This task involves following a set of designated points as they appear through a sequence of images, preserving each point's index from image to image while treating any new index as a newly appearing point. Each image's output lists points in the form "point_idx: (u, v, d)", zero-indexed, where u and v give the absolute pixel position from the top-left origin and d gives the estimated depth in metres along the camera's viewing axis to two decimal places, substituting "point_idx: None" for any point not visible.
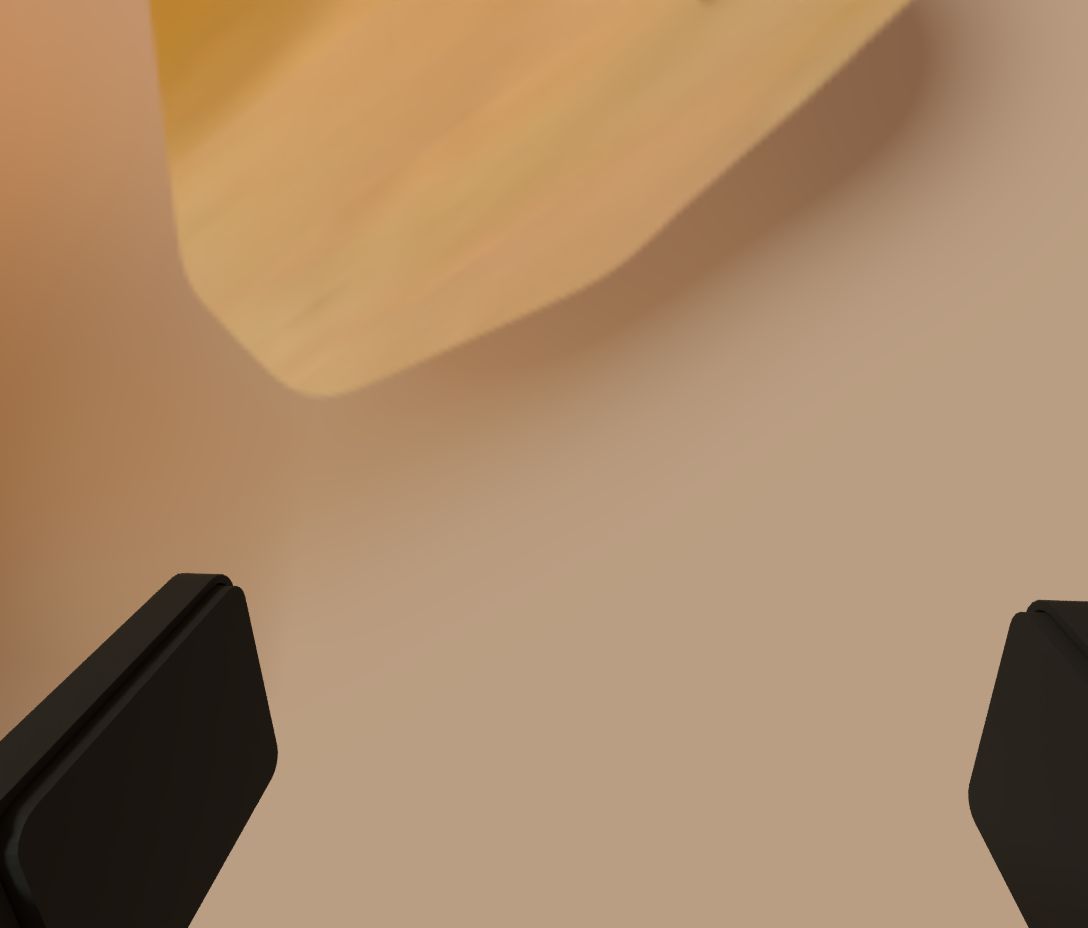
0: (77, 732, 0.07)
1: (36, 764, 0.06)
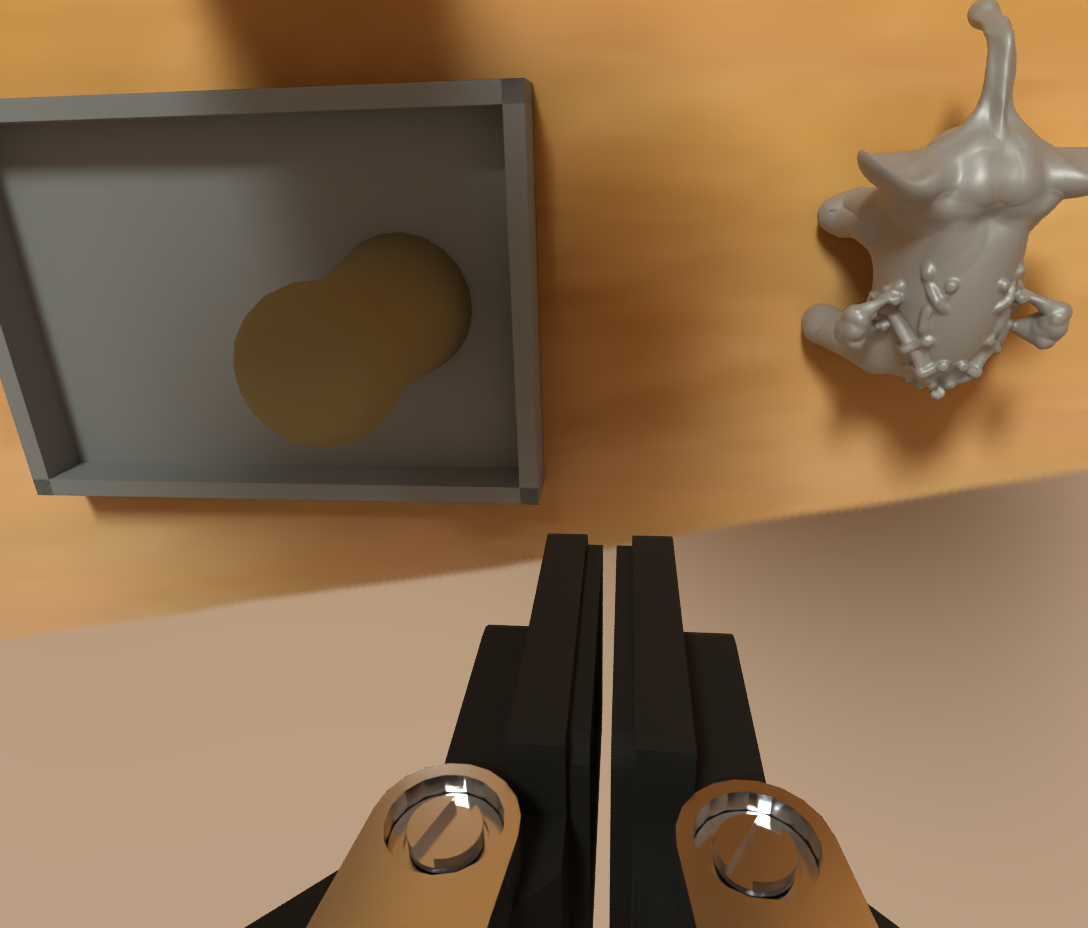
0: (577, 664, 0.07)
1: (571, 689, 0.07)
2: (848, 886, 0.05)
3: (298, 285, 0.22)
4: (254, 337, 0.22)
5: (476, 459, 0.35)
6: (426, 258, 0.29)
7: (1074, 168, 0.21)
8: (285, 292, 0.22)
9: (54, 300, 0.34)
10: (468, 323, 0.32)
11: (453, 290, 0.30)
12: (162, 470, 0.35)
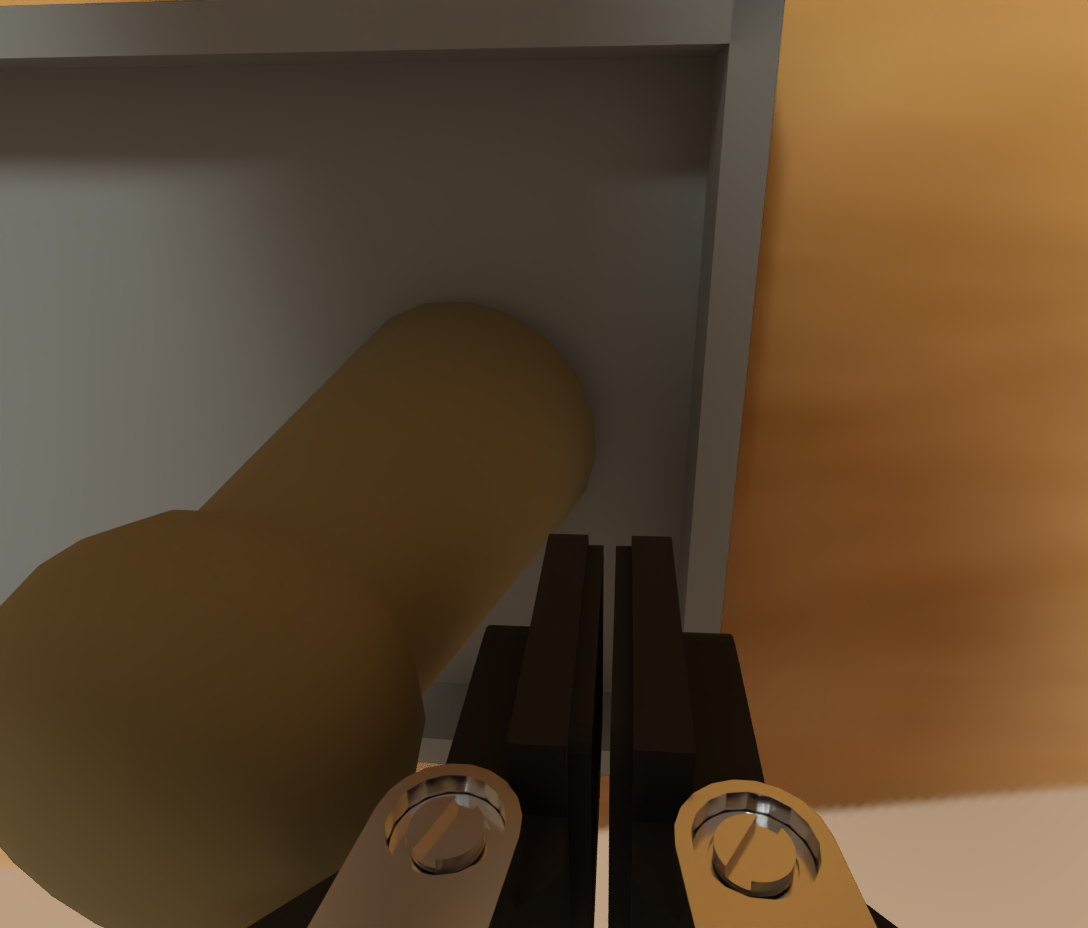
0: (579, 664, 0.07)
1: (572, 689, 0.07)
2: (847, 886, 0.05)
3: (115, 558, 0.08)
4: None
5: None
6: (511, 369, 0.14)
7: None
8: (66, 586, 0.07)
9: None
10: (586, 478, 0.17)
11: (562, 432, 0.15)
12: None
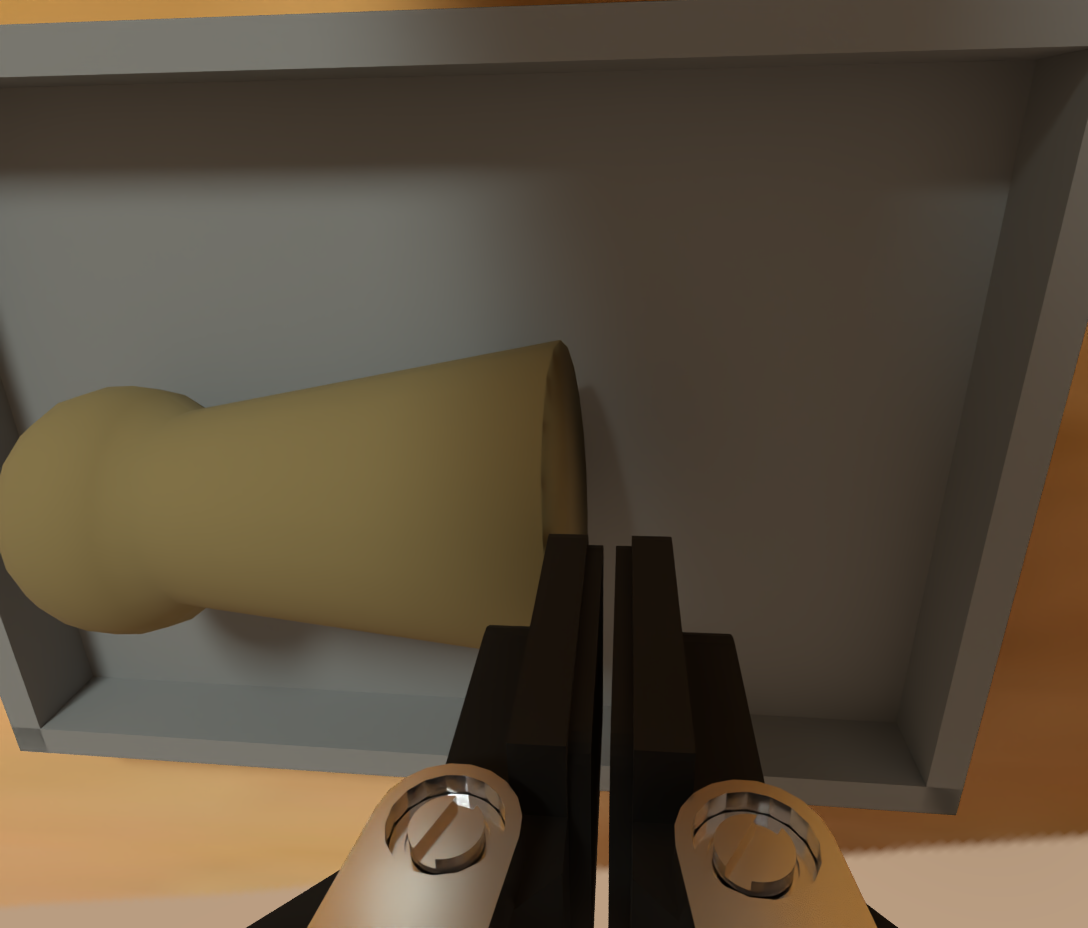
0: (578, 664, 0.07)
1: (571, 689, 0.07)
2: (847, 886, 0.05)
3: (90, 392, 0.15)
4: None
5: (806, 704, 0.19)
6: (435, 425, 0.12)
7: None
8: None
9: None
10: None
11: (444, 521, 0.12)
12: (240, 707, 0.20)
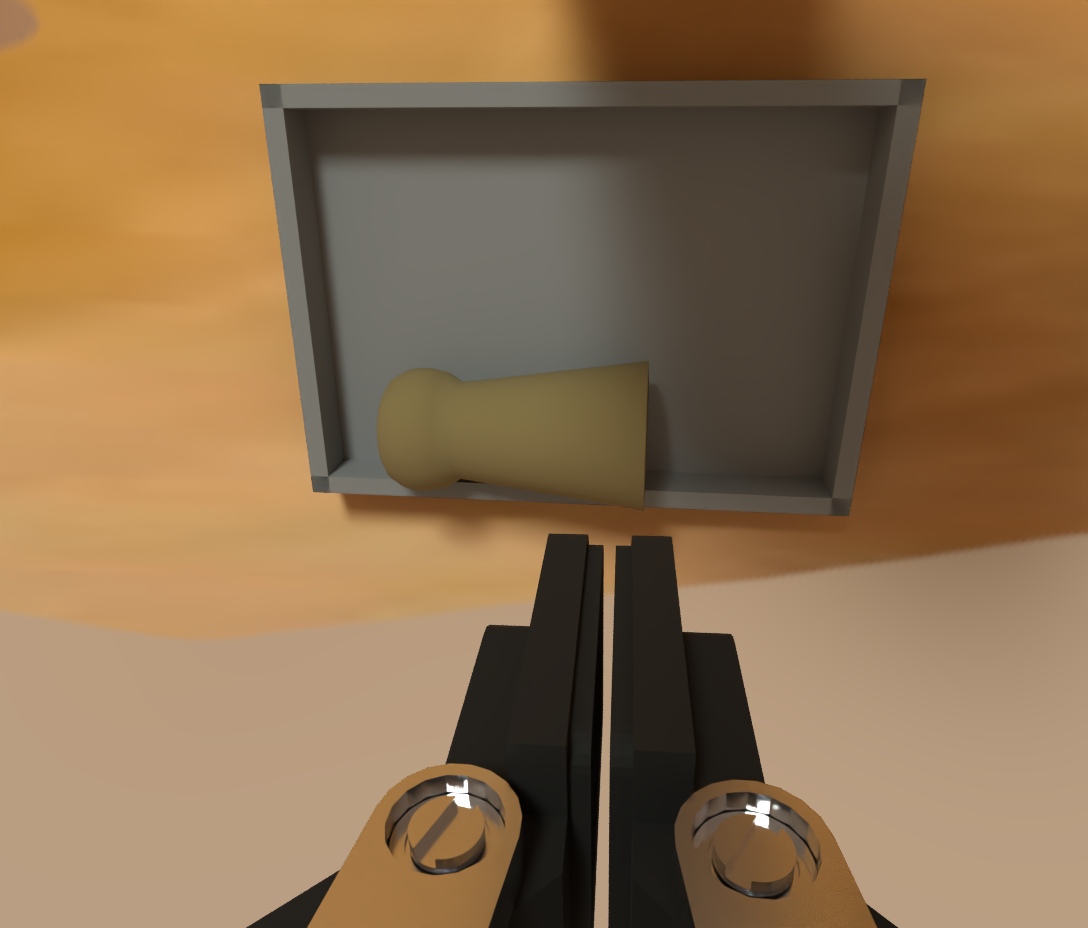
0: (578, 664, 0.07)
1: (571, 689, 0.07)
2: (847, 886, 0.05)
3: (398, 447, 0.30)
4: (378, 411, 0.30)
5: (769, 467, 0.34)
6: (597, 495, 0.29)
7: None
8: (388, 440, 0.30)
9: (350, 292, 0.33)
10: None
11: None
12: None
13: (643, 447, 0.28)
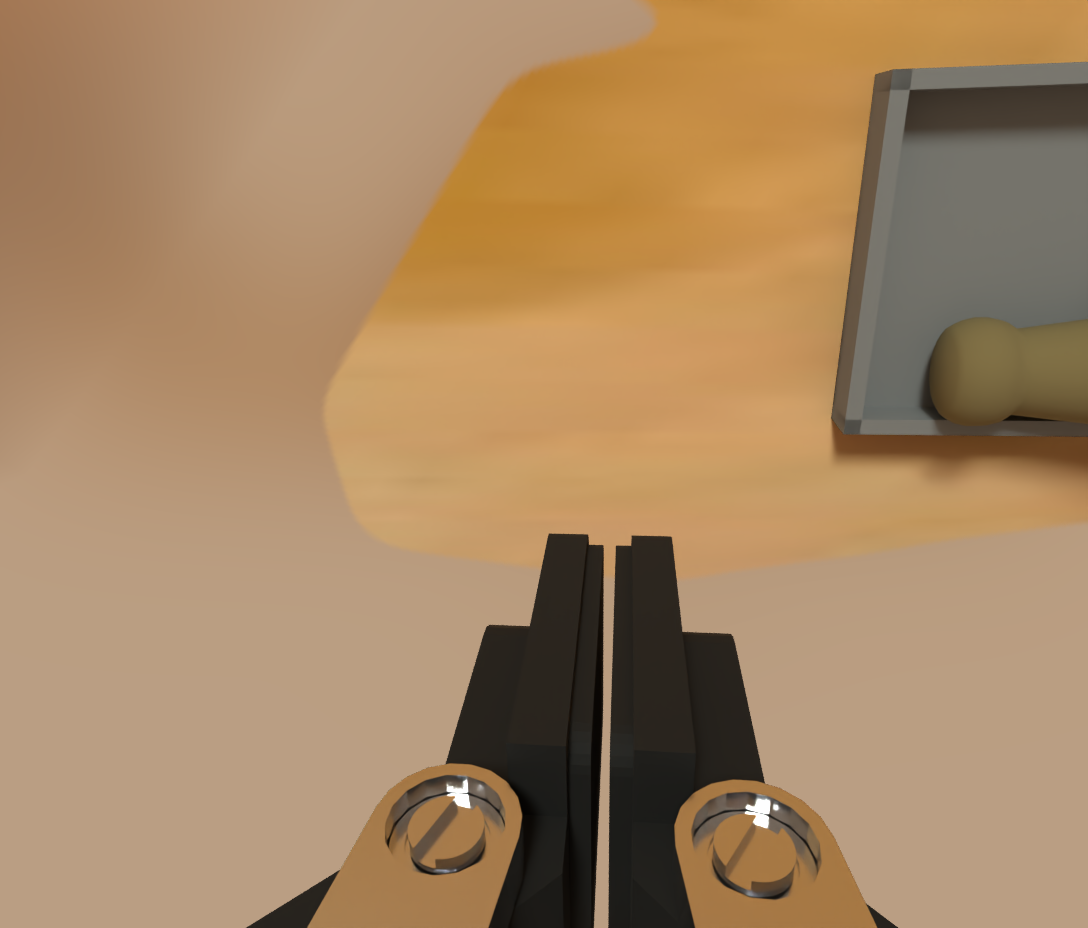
0: (579, 664, 0.07)
1: (571, 689, 0.07)
2: (847, 886, 0.05)
3: (989, 384, 0.34)
4: (955, 354, 0.35)
5: None
6: None
7: None
8: (979, 378, 0.34)
9: (894, 254, 0.37)
10: None
11: None
12: None
13: None
